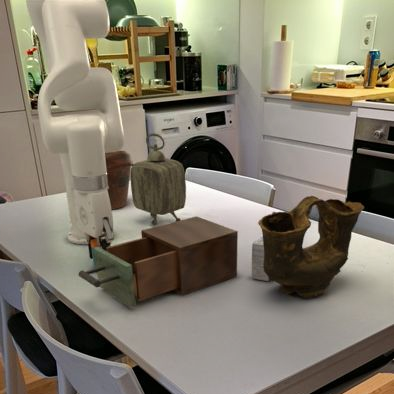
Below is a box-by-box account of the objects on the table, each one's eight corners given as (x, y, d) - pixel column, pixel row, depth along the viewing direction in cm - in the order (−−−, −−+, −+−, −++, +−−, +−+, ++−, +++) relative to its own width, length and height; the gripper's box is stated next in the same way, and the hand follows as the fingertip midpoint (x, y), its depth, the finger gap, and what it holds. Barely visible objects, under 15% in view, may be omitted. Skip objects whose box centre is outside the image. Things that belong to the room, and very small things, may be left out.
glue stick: (91, 268, 123) (87, 240, 120) (104, 264, 125) (101, 237, 122) (98, 272, 121) (95, 244, 117) (111, 268, 123) (108, 241, 119)
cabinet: (181, 295, 110) (180, 247, 104) (144, 275, 120) (141, 230, 114) (236, 276, 118) (237, 231, 112) (197, 258, 128) (196, 216, 122)
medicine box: (268, 282, 114) (270, 245, 110) (250, 278, 117) (251, 242, 112) (282, 270, 120) (285, 234, 116) (265, 267, 122) (267, 231, 118)
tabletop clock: (187, 223, 152) (184, 133, 139) (166, 231, 146) (161, 138, 133) (152, 214, 160) (146, 129, 147) (131, 222, 154) (123, 133, 141)
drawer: (106, 316, 100) (100, 274, 96) (75, 293, 109) (68, 254, 105) (188, 288, 111) (187, 249, 106) (153, 269, 120) (151, 232, 115)
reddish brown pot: (87, 197, 180) (80, 143, 171) (142, 198, 177) (138, 143, 168) (69, 211, 165) (60, 153, 156) (129, 213, 162) (124, 153, 153)
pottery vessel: (329, 267, 121) (339, 182, 110) (364, 283, 113) (379, 192, 103) (244, 293, 110) (247, 201, 99) (277, 312, 102) (284, 214, 91)
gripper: (58, 178, 116) (70, 254, 126) (93, 193, 105) (103, 275, 115) (88, 173, 120) (97, 247, 130) (124, 186, 109) (132, 266, 118)
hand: (100, 259), depth 122 cm, fingers closed on glue stick, 3 cm apart
